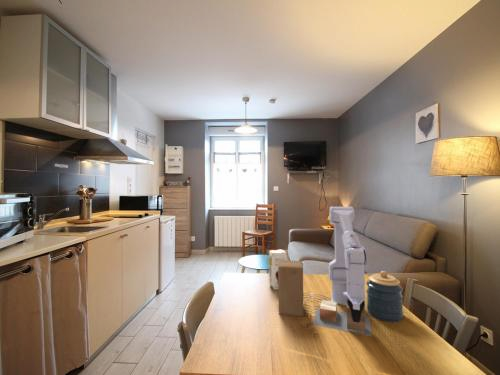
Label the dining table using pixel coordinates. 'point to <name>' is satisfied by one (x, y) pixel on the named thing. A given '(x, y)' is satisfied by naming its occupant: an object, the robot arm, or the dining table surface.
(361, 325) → the walnut block
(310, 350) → the dining table surface
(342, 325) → the felt mat
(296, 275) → the wooden block
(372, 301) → the canister
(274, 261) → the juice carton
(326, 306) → the ash block
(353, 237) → the robot arm
